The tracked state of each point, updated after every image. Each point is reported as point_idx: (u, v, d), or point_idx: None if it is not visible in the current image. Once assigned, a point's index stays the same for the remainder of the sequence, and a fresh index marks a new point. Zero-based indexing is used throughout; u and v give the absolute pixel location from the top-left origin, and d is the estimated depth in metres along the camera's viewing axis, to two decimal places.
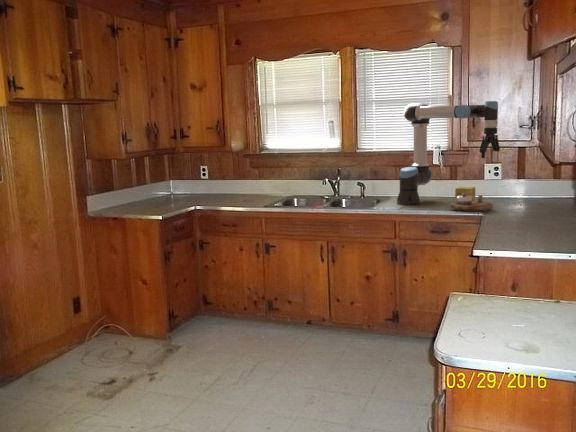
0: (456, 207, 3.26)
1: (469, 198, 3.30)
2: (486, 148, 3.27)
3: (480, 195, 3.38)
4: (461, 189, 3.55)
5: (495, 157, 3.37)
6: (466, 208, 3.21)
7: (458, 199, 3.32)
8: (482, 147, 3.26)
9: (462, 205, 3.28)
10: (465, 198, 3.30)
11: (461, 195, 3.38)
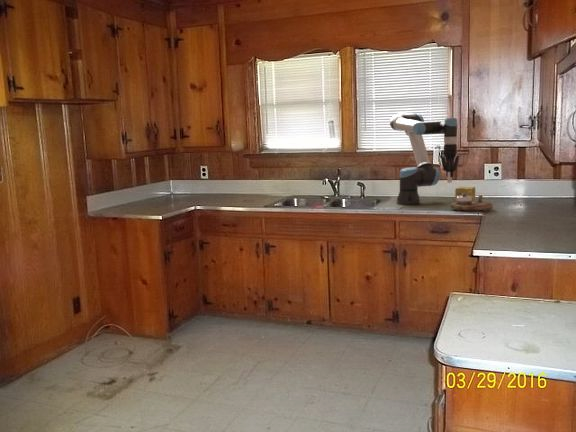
0: (456, 207, 3.26)
1: (469, 198, 3.30)
2: (447, 166, 3.38)
3: (480, 195, 3.38)
4: (461, 189, 3.55)
5: None
6: (466, 208, 3.21)
7: (458, 199, 3.32)
8: None
9: (462, 205, 3.28)
10: (465, 198, 3.30)
11: (461, 195, 3.38)
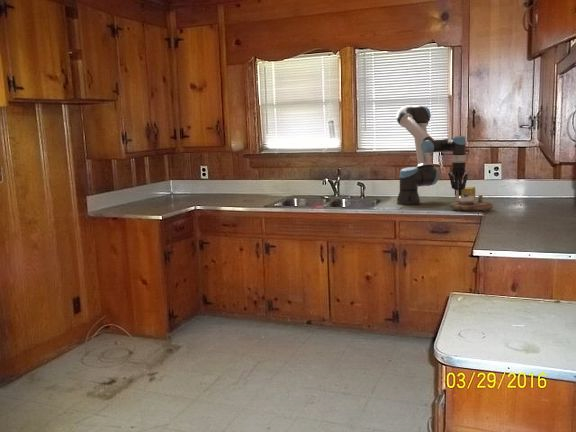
0: (456, 207, 3.26)
1: (471, 198, 3.29)
2: (455, 185, 3.36)
3: (480, 195, 3.38)
4: None
5: None
6: (466, 208, 3.21)
7: (460, 199, 3.31)
8: None
9: (462, 205, 3.28)
10: (467, 198, 3.29)
11: (463, 195, 3.37)
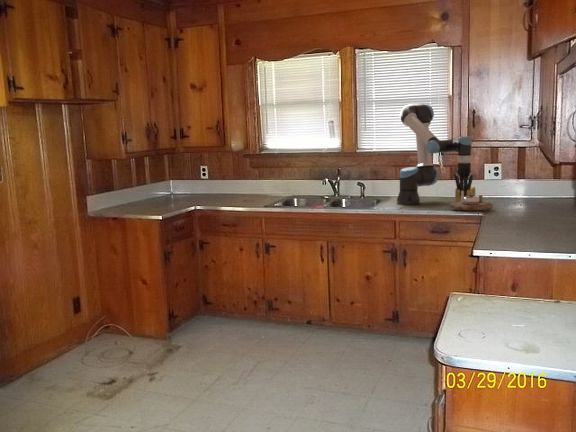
0: (456, 207, 3.26)
1: (476, 199, 3.27)
2: (460, 185, 3.33)
3: (480, 195, 3.38)
4: None
5: None
6: (466, 208, 3.21)
7: (465, 200, 3.29)
8: None
9: (462, 205, 3.28)
10: (472, 199, 3.26)
11: (468, 196, 3.34)
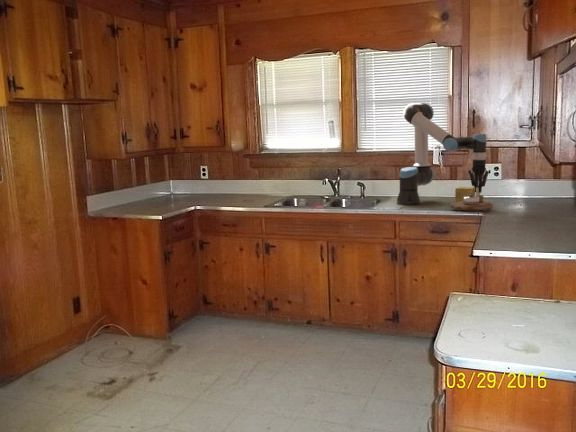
0: (455, 207, 3.27)
1: (476, 199, 3.27)
2: (475, 182, 3.37)
3: (481, 195, 3.38)
4: (461, 189, 3.55)
5: None
6: (465, 208, 3.22)
7: (465, 200, 3.29)
8: None
9: (462, 205, 3.29)
10: (472, 199, 3.26)
11: (469, 196, 3.34)
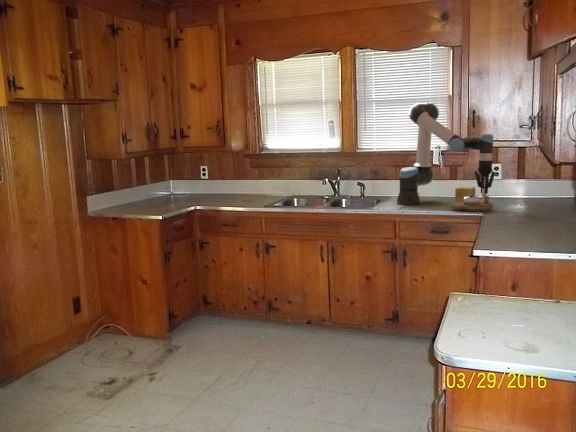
0: (451, 206, 3.31)
1: (473, 199, 3.27)
2: (481, 183, 3.34)
3: (487, 196, 3.34)
4: (461, 189, 3.55)
5: None
6: (458, 207, 3.25)
7: None
8: None
9: (459, 204, 3.31)
10: (469, 199, 3.27)
11: None
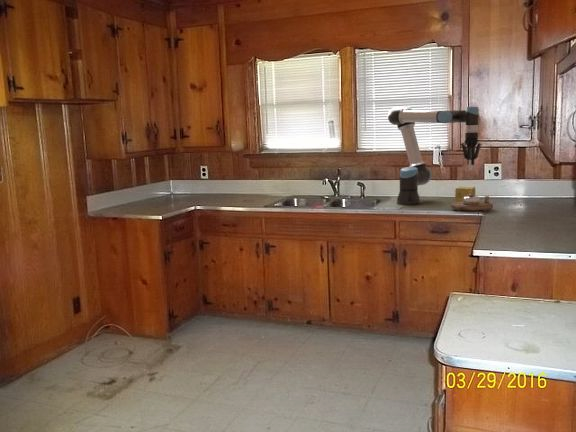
0: (451, 206, 3.31)
1: (473, 199, 3.27)
2: (468, 154, 3.43)
3: (487, 196, 3.34)
4: (461, 189, 3.55)
5: None
6: (458, 207, 3.25)
7: None
8: None
9: (459, 204, 3.31)
10: (469, 199, 3.27)
11: None
